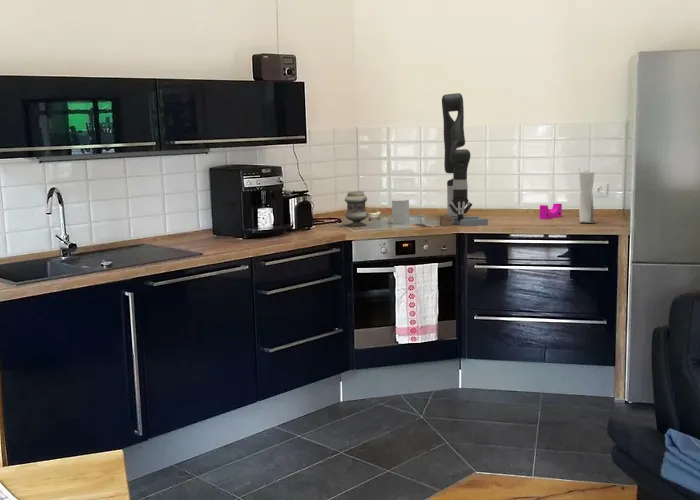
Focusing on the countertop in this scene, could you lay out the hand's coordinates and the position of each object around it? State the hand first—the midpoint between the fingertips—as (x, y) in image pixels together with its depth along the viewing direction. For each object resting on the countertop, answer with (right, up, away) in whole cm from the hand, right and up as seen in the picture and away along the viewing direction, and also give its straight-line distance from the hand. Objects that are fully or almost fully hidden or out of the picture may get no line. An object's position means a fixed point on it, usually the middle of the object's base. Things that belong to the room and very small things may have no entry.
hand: (460, 221), depth 416 cm
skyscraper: (+65, 0, -3) cm, 65 cm away
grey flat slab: (+5, -1, +1) cm, 5 cm away
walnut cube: (-8, -2, -2) cm, 8 cm away
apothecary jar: (-54, -2, +5) cm, 54 cm away
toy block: (+52, +3, +23) cm, 57 cm away
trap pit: (-20, -3, -4) cm, 21 cm away
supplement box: (-30, -1, +12) cm, 32 cm away
